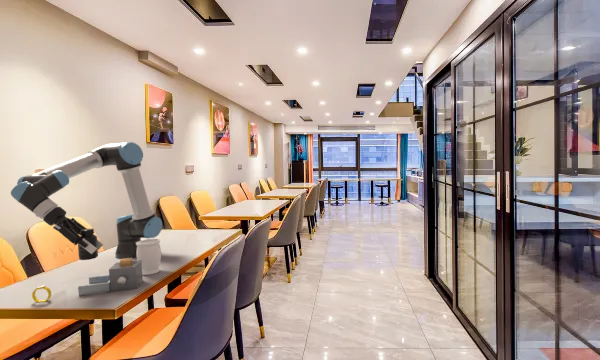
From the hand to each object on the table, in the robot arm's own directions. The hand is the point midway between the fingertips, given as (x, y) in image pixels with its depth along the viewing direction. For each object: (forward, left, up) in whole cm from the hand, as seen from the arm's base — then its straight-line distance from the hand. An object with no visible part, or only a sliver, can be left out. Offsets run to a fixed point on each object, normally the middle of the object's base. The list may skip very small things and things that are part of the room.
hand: (97, 249), depth 139 cm
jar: (-15, +17, -17) cm, 28 cm away
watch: (+8, -17, -17) cm, 25 cm away
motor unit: (+2, +5, -16) cm, 17 cm away
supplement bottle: (0, -4, -4) cm, 5 cm away
